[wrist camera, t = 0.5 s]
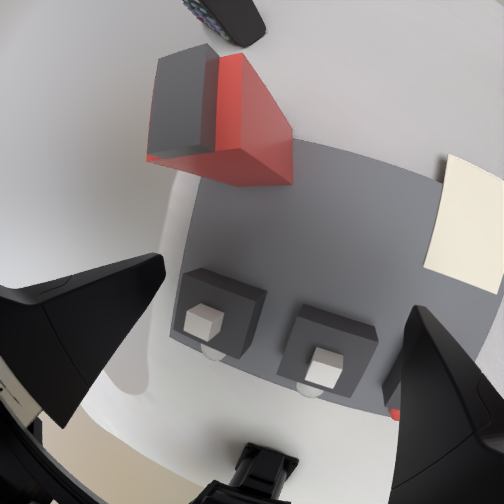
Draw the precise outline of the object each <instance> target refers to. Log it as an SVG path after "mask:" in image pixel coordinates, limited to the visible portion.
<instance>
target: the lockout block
mask: <svg viewBox="0 0 504 504" xmlns="http://www.w3.org/2000/svg"><path fill="white" fill-rule="evenodd" d="M146 161H147V162H150V163H154V164H158V165H162V166H166V167H170V168H173V169H177V170H181V171H184V172H188V173H191V174H195V175H199V176H202V177H206V178H209V179H212V180H216V181H219V182H223V183H226V184H229V185H232V186H236V187H246V186H277V185H293V138H292V128H291V126H290V124H289V123H288V121H287V120H286V118H285V116H284V115H283V113H282V111H281V110H280V108H279V106H278V105H277V103H276V102H275V100H274V99H273V97H272V95H271V94H270V92H269V91H268V89H267V88H266V86H265V85H264V83H263V82H262V80H261V79H260V77H259V76H258V74H257V73H256V71H255V70H254V68H253V67H252V66H251V64H250V63H249V61H248V60H247V59H246V57H245V56H244V54H243V53H239V54H234V55H229V56H224V57H219V56H218V54H217V53H216V52H215V51H214V50H213V49H212V48H211V47H210V46H209V45H208V44H203V45H200V46H196V47H193V48H189V49H187V50H183V51H180V52H177V53H174V54H171V55H168V56H166V57H163V58H160V59H158V65H157V71H156V76H155V82H154V89H153V96H152V104H151V113H150V123H149V133H148V145H147V160H146Z"/></svg>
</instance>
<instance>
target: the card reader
mask: <svg viewBox="0 0 504 504" xmlns="http://www.w3.org/2000/svg"><path fill="white" fill-rule="evenodd" d="M183 1H184V3H183V4H184V5H185V6H187V7H188V9H189V10H190V11H192V13H193V14H194V15H195V16H196V17H197V19H199V20H200V21H201V22H203V23H204V22H205V23H207V24H208V26H209V27H210V28H211V29H213V30H214V31H216V30H217V31H218V32H220V35H221V36H222V37H224V38H225V39H226V40H230V41H232V42H233V43H234V44H236V45H242V46H248V45H250V44H251V43H253V42H254V41H256V40H257V39H258V38H260V37H261V36H263V35H264V33H265V31H266V27H265V24H264V22H263V20H262V18H261V16H260V14H259V12H258V10H257V8H256V7H255V5H254V3H253V1H252V0H183Z"/></svg>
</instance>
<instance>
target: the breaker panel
mask: <svg viewBox="0 0 504 504" xmlns="http://www.w3.org/2000/svg"><path fill="white" fill-rule="evenodd" d="M503 295H504V181H503V180H501V179H500V178H498V177H496V176H494V175H492V174H490V173H489V172H487V171H485V170H483V169H481V168H479V167H477V166H475V165H473V164H471V163H469V162H467V161H464V160H462V159H460V158H458V157H456V156H453V155H451V154H449V153H448V156H447V163H446V170H445V176H444V182H443V184H442V183H440V182H437V181H435V180H432V179H430V178H427V177H425V176H422V175H419V174H417V173H414V172H411V171H408V170H406V169H403V168H400V167H397V166H394V165H391V164H388V163H385V162H382V161H379V160H375V159H372V158H369V157H365V156H362V155H359V154H355V153H351V152H348V151H344V150H340V149H336V148H333V147H329V146H324V145H320V144H316V143H312V142H307V141H303V140H298V139H293V185H277V186H246V187H236V186H232V185H229V184H226V183H223V182H219V181H216V180H212V179H209V178H206V177H202V176H201V180H200V184H199V188H198V192H197V196H196V201H195V205H194V209H193V213H192V218H191V222H190V227H189V231H188V236H187V241H186V245H185V250H184V255H183V260H182V265H181V271H180V276H179V281H178V287H177V293H176V298H175V304H174V310H173V317H172V323H171V330H170V336H169V337H171V338H173V339H175V340H177V341H178V342H180V343H182V344H184V345H187V346H189V347H191V348H193V349H195V350H197V351H199V352H201V353H203V354H204V355H205V356H206V357H207V358H209V359H210V360H213V361H221V362H223V363H225V364H228V365H230V366H232V367H235V368H237V369H239V370H242V371H244V372H247V373H249V374H252V375H254V376H257V377H259V378H262V379H264V380H267V381H270V382H272V383H275V384H278V385H280V386H283V387H286V388H289V389H292V390H295V391H298V392H299V393H300V394H301V395H303V396H305V397H308V398H314V397H316V398H319V399H322V400H326V401H329V402H332V403H336V404H339V405H343V406H347V407H350V408H354V409H358V410H362V411H366V412H370V413H374V414H379V415H383V416H388V417H391V418H392V419H393V420H396V421H399V420H400V397H401V362H402V351H403V335H404V327H405V324H406V321H407V319H408V317H409V314H410V312H411V309H412V307H413V306H414V305H422V306H426V307H427V308H428V309H429V311H430V312H431V313H432V314H433V315H434V316H435V317H436V318H437V319H438V320H439V321H440V323H441V324H442V325H443V326H444V327H445V328H446V329H447V330H448V332H449V333H450V334H451V335H452V336H453V337H454V338H455V340H456V341H457V342H458V343H459V344H460V345H461V347H462V348H463V349H464V350H465V351H466V353H467V354H468V355H469V356H470V357H471V359H472V360H473V361H474V362H475V360H476V358H477V356H478V354H479V352H480V350H481V348H482V346H483V344H484V342H485V340H486V338H487V335H488V333H489V331H490V329H491V326H492V324H493V321H494V319H495V317H496V314H497V311H498V309H499V306H500V303H501V301H502V298H503Z"/></svg>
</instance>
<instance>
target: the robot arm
mask: <svg viewBox="0 0 504 504" xmlns="http://www.w3.org/2000/svg"><path fill="white" fill-rule="evenodd" d="M165 276H166V271H165V265H164V259H163V256H162V255H161V254H157V253H149V254H146V255H142V256H138V257H134V258H131V259H127V260H123V261H120V262H116V263H112V264H109V265H105V266H101V267H98V268H94V269H91V270H88V271H84V272H80V273H77V274H74V275H70V276H66V277H63V278H59V279H56V280H52V281H48V282H45V283H40V284H36V285H32V286H28V287H24V288H19V289H11V288H7V287H4V286H1V285H0V504H50V503H51V502H52V500H53V499H54V500H55V501H56V502H57V503H59V504H108V503H107V502H105V501H104V500H102V499H101V498H100V497H98V496H97V495H96V494H95V493H93V492H92V491H91V490H89V489H88V488H87V487H86V486H84V485H83V484H82V483H81V482H80V481H78V480H77V479H76V478H75V477H74V476H73V475H72V474H70V473H69V472H68V471H67V470H66V469H65V468H64V467H63V466H62V465H61V464H60V463H58V462H57V461H56V460H55V459H54V458H53V457H52V456H51V455H50V454H49V453H48V452H47V451H46V449H45V448H44V447H43V445H42V421H41V420H40V419H39V418H38V417H37V416H38V415H39V414H40V413H41V412H42V411H44V412H45V413H46V414H47V415H48V416H49V417H50V418H51V419H52V420H53V421H55V423H56V424H57V425H58V426H60V427H61V428H62V429H64V428H65V426H66V425H67V423H68V421H69V420H70V418H71V417H72V415H73V414H74V412H75V411H76V409H77V407H78V406H79V404H80V403H81V401H82V400H83V398H84V397H85V395H86V394H87V392H88V391H89V388H90V387H91V386H92V384H93V383H94V382H95V380H96V379H97V377H98V376H99V374H100V373H101V371H102V370H103V368H104V367H105V365H106V364H107V363H108V361H109V360H110V358H111V357H112V355H113V354H114V353H115V351H116V350H117V348H118V347H119V345H120V344H121V343H122V341H123V340H124V339H125V337H126V336H127V334H128V333H129V332H130V330H131V329H132V328H133V326H134V325H135V323H136V322H137V321H138V319H139V318H140V317H141V315H142V314H143V313H144V311H145V310H146V309H147V307H148V305H149V304H150V302H151V301H152V299H153V297H154V296H155V294H156V292H157V291H158V289H159V288H160V286H161V284H162V283H163V281H164V279H165ZM298 463H299V461H298V460H297V459H294V458H290V457H287V456H284V455H281V454H278V453H275V452H272V451H269V450H267V449H264V448H261V447H258V446H256V445H253V444H250V443H248V444H246V446H245V448H244V450H243V453H242V455H241V457H240V459H239V461H238V463H237V465H236V468H235V470H236V473H235V475H234V476H233V478H232V480H231V481H230V483H229V485H226V484H223V483H220V482H219V481H217V480H213V481H212V482H211V484H210V483H209V484H208V485H207V487H206V488H205V489H204V490H203V491H202V492H201V493H200V494H199V496H198V497H197V498H195V499H194V500H193V501H191V502H190V503H189V504H291V502H289V501H286V502H285V501H281V500H278V498H279V496H280V493H281V490H282V488H283V485H284V483H285V481H286V480H287V479H288V477H289V476H290V475H291V474H292V472H293V471H294V469H295V468H296V467H297V465H298ZM388 504H504V399H503V398H502V397H501V395H500V394H499V393H498V392H497V391H496V389H495V388H494V387H493V385H492V384H491V383H490V382H489V380H488V379H487V378H486V376H485V375H484V374H483V373H482V371H481V370H480V369H479V367H478V366H477V365H476V364H475V362H474V361H473V360H472V359H471V357H470V356H469V355H468V354H467V353H466V351H465V350H464V349H463V348H462V347H461V345H460V344H459V343H458V342H457V341H456V340H455V338H454V337H453V336H452V335H451V334H450V333H449V332H448V330H447V329H446V328H445V327H444V326H443V325H442V324H441V323H440V321H439V320H438V319H437V318H436V317H435V316H434V315H433V314H432V313H431V312H430V311H429V309H428V308H427V307H426V306H422V305H414V306H413V307H412V309H411V312H410V314H409V317H408V319H407V321H406V324H405V327H404V335H403V351H402V362H401V397H400V420H399V434H398V444H397V454H396V461H395V469H394V475H393V481H392V487H391V492H390V497H389V501H388Z"/></svg>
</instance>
